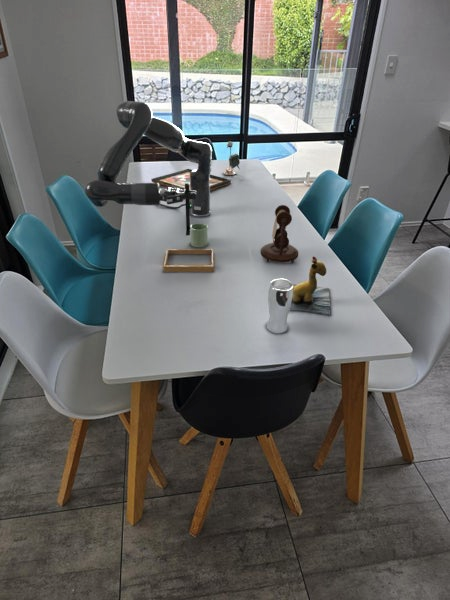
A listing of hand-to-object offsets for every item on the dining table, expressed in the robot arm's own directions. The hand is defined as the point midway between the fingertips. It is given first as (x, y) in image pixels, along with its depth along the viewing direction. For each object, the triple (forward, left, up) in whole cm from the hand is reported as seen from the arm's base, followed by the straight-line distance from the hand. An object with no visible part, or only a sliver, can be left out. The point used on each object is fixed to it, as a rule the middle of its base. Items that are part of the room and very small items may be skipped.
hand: (195, 194), depth 138 cm
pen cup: (-11, +10, -26) cm, 30 cm away
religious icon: (-77, +58, -26) cm, 100 cm away
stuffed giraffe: (+43, +10, -26) cm, 51 cm away
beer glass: (+48, -8, -26) cm, 55 cm away
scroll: (+18, +27, -26) cm, 42 cm away
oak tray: (-1, -3, -26) cm, 26 cm away
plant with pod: (-77, +90, -26) cm, 122 cm away
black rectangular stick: (-1, -3, -14) cm, 14 cm away
